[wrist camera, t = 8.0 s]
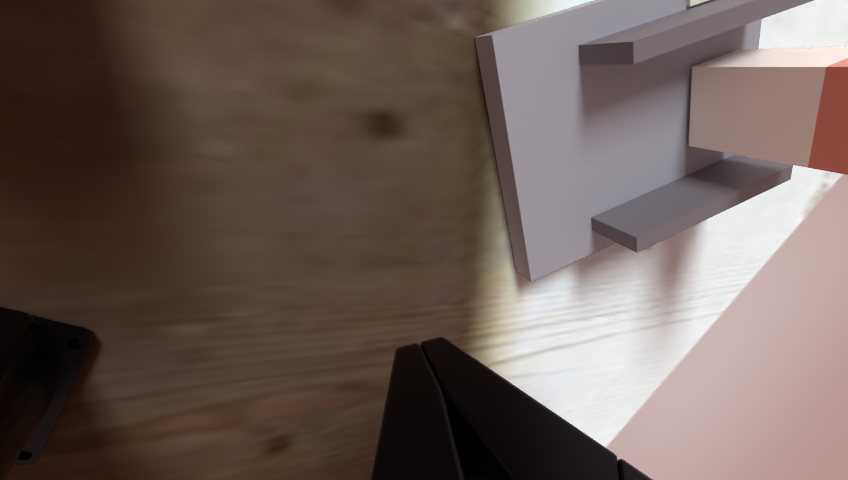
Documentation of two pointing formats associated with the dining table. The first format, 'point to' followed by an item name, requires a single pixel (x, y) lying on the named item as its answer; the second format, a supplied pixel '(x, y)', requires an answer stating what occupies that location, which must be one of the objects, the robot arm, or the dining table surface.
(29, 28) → the dining table surface
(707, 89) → the block
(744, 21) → the grey walled base plate
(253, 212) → the dining table surface
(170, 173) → the dining table surface
